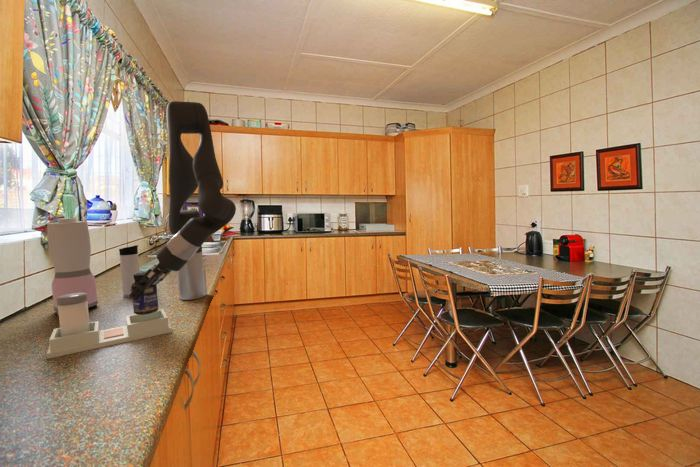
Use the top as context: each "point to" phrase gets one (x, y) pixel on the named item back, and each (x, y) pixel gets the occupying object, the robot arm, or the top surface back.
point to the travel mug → (129, 267)
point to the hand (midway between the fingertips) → (138, 294)
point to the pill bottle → (145, 298)
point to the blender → (71, 259)
